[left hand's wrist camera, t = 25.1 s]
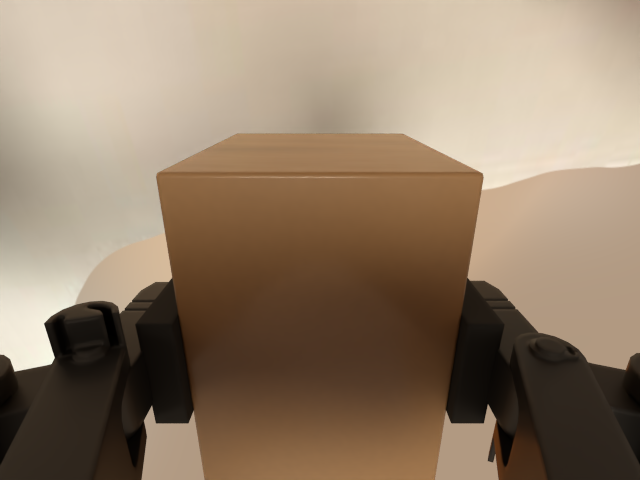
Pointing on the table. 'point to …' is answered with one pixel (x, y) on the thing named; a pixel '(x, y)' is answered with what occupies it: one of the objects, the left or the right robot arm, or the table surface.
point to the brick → (319, 301)
